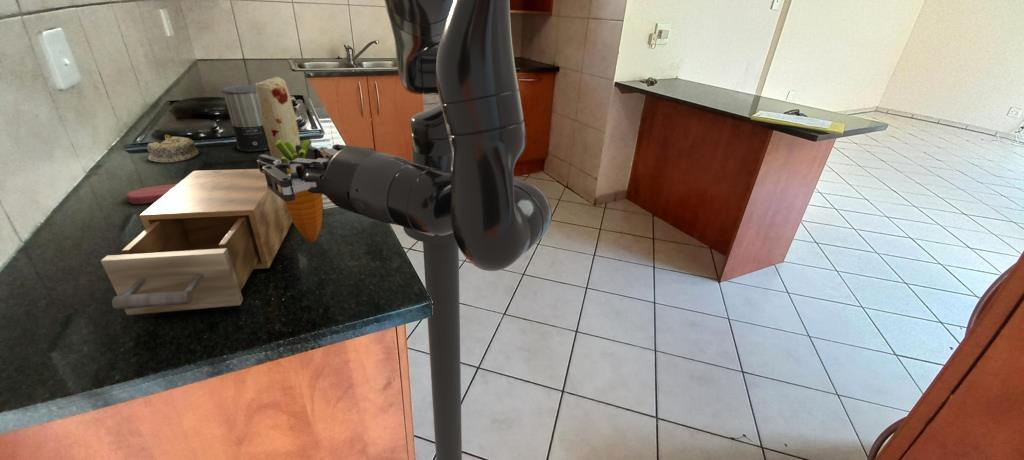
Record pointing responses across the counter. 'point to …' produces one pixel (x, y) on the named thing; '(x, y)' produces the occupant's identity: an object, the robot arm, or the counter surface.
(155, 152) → the cake
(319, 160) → the robot arm
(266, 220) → the cabinet
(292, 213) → the carrot
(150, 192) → the popsicle
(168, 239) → the drawer
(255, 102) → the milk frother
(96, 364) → the counter surface
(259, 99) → the food model
